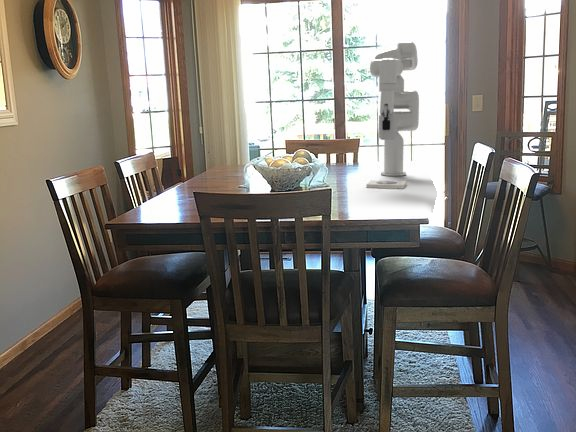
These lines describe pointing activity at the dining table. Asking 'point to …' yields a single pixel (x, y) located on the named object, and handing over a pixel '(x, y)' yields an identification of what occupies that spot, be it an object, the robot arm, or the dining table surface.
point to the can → (388, 133)
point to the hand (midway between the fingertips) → (387, 129)
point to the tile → (386, 184)
